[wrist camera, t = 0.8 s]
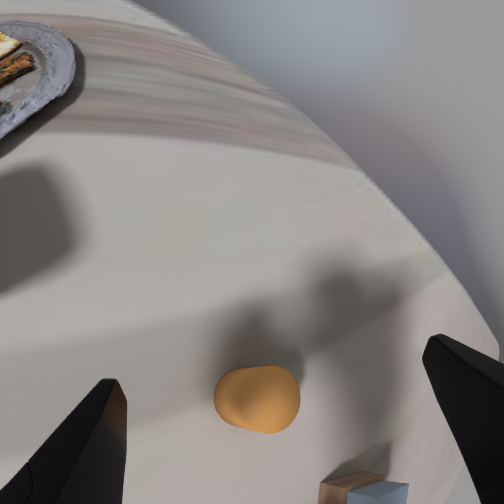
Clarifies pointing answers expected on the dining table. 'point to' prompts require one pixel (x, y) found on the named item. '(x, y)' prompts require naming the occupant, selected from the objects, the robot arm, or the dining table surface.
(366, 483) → the walnut base block
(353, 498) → the slate top block
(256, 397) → the orange cylinder
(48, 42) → the food plate
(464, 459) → the robot arm
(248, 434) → the dining table surface
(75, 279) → the dining table surface
